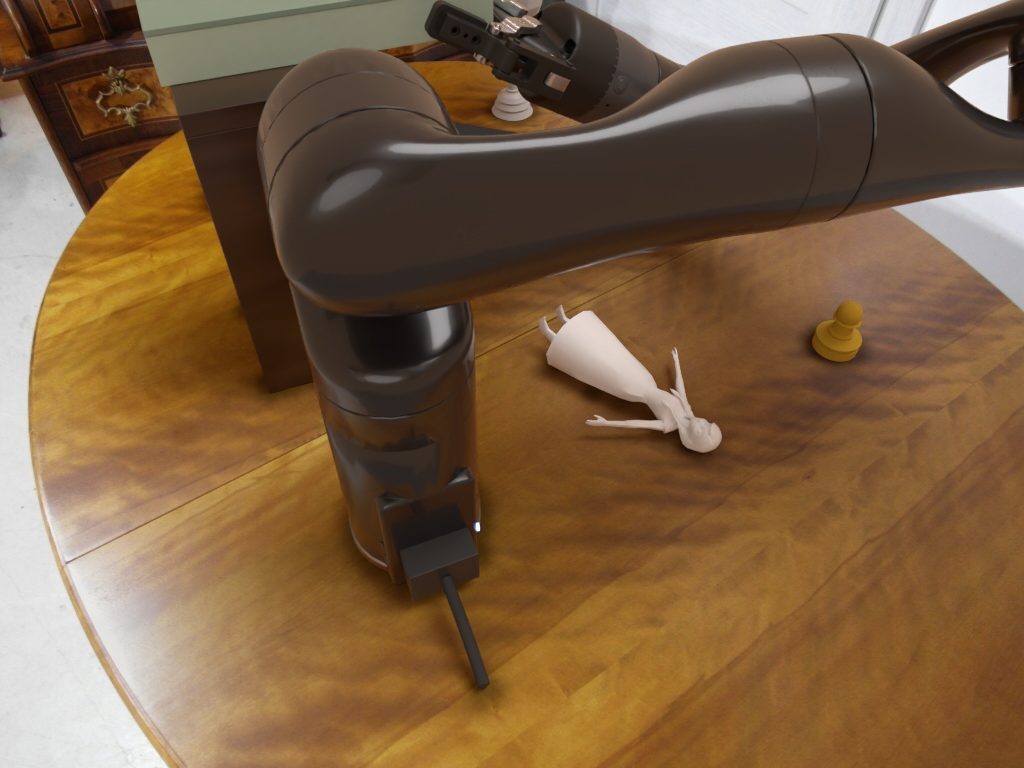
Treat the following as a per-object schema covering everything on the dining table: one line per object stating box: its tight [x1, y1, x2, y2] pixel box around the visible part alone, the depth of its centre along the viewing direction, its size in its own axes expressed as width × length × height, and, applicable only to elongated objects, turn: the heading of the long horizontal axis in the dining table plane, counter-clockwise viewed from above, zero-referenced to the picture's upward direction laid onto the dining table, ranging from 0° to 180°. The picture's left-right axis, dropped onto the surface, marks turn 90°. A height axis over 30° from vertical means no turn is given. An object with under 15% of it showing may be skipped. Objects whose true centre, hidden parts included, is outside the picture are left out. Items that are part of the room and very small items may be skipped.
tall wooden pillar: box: [169, 64, 314, 394], centre depth 60 cm, size 12×13×25 cm
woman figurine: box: [538, 304, 723, 454], centre depth 64 cm, size 12×4×18 cm
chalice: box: [491, 0, 544, 122], centre depth 88 cm, size 7×7×18 cm
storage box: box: [135, 0, 493, 88], centre depth 51 cm, size 5×22×4 cm, turn 113°
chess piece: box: [811, 300, 864, 363], centre depth 67 cm, size 4×4×5 cm
